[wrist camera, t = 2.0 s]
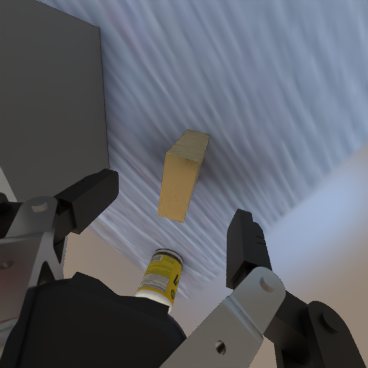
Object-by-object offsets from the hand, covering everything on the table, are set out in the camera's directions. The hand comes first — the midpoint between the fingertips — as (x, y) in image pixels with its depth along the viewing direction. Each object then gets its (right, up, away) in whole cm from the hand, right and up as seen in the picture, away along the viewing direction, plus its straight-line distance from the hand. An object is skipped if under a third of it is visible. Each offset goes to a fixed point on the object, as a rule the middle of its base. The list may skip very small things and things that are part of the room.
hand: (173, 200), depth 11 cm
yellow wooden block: (+2, +4, +5) cm, 6 cm away
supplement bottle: (-2, -10, +14) cm, 18 cm away
